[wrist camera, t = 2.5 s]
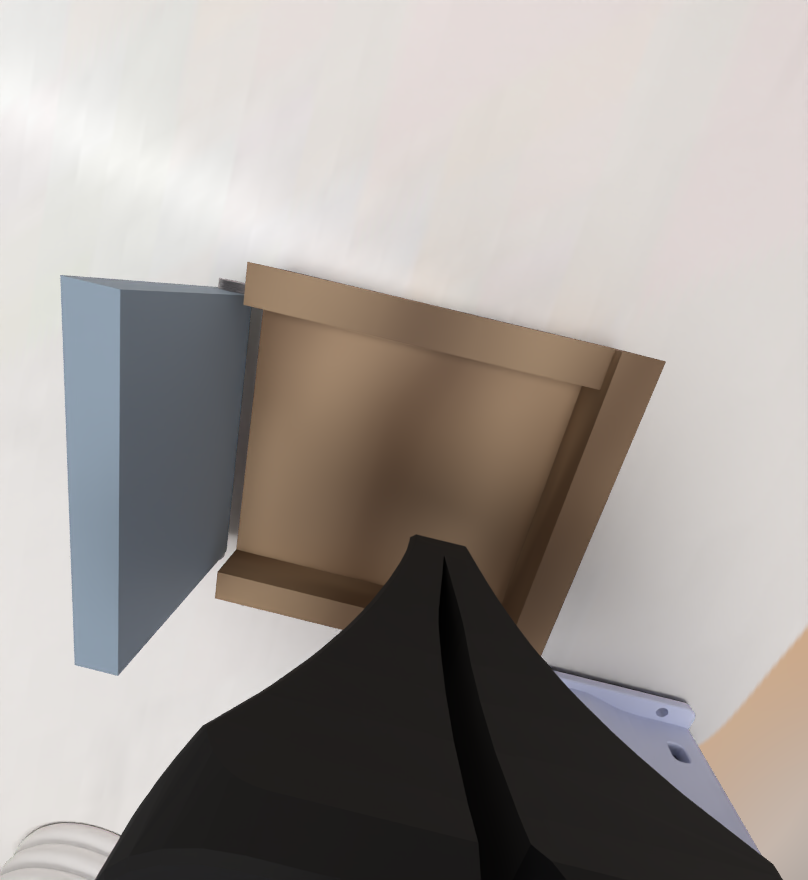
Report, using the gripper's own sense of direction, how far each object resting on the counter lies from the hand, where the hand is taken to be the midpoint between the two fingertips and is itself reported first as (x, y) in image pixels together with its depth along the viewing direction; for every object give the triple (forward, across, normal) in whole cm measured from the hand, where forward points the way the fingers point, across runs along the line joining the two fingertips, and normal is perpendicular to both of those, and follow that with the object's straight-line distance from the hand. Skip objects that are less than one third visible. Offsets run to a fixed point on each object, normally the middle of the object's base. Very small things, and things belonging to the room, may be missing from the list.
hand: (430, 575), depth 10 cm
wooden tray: (+7, +1, 0) cm, 7 cm away
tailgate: (+6, +8, 0) cm, 10 cm away
